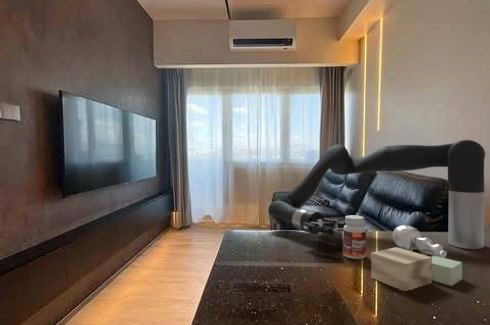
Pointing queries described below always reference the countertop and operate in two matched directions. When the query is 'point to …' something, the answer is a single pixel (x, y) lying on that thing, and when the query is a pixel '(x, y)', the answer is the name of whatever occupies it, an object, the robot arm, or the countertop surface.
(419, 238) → the figurine
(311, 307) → the countertop surface
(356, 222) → the pill bottle
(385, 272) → the oak block
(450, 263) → the sage block
